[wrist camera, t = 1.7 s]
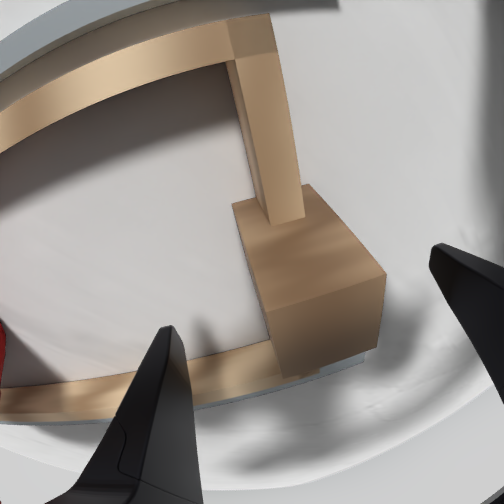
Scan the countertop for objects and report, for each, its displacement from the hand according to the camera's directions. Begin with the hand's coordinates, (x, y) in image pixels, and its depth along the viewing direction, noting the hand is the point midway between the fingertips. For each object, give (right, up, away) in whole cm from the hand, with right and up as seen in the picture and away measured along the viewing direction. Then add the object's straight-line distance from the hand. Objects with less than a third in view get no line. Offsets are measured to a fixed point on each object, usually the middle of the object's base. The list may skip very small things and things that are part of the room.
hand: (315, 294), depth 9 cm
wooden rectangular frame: (-13, -1, +3) cm, 14 cm away
